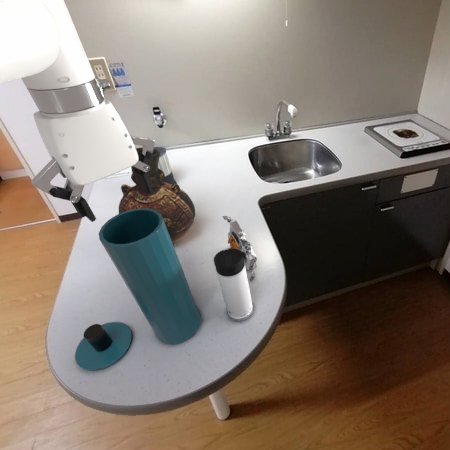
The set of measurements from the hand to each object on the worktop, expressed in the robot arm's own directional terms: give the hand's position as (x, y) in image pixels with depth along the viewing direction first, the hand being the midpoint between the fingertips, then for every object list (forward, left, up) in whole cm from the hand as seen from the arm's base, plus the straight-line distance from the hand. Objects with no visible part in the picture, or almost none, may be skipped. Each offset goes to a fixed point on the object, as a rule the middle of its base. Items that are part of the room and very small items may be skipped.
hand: (120, 203), depth 51 cm
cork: (0, 0, -36) cm, 36 cm away
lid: (-14, +8, -36) cm, 39 cm away
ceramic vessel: (+16, +30, -37) cm, 50 cm away
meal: (+23, +3, -37) cm, 44 cm away
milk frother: (+31, +54, -37) cm, 72 cm away
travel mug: (+12, -9, -37) cm, 40 cm away
